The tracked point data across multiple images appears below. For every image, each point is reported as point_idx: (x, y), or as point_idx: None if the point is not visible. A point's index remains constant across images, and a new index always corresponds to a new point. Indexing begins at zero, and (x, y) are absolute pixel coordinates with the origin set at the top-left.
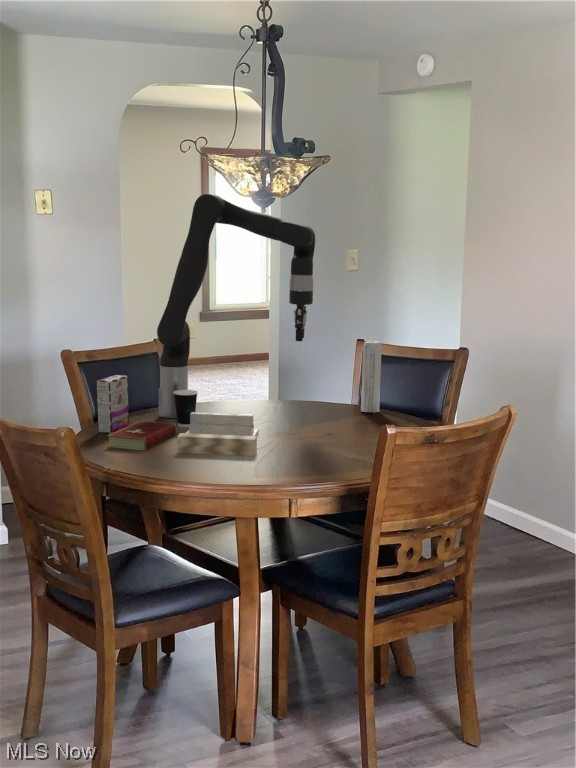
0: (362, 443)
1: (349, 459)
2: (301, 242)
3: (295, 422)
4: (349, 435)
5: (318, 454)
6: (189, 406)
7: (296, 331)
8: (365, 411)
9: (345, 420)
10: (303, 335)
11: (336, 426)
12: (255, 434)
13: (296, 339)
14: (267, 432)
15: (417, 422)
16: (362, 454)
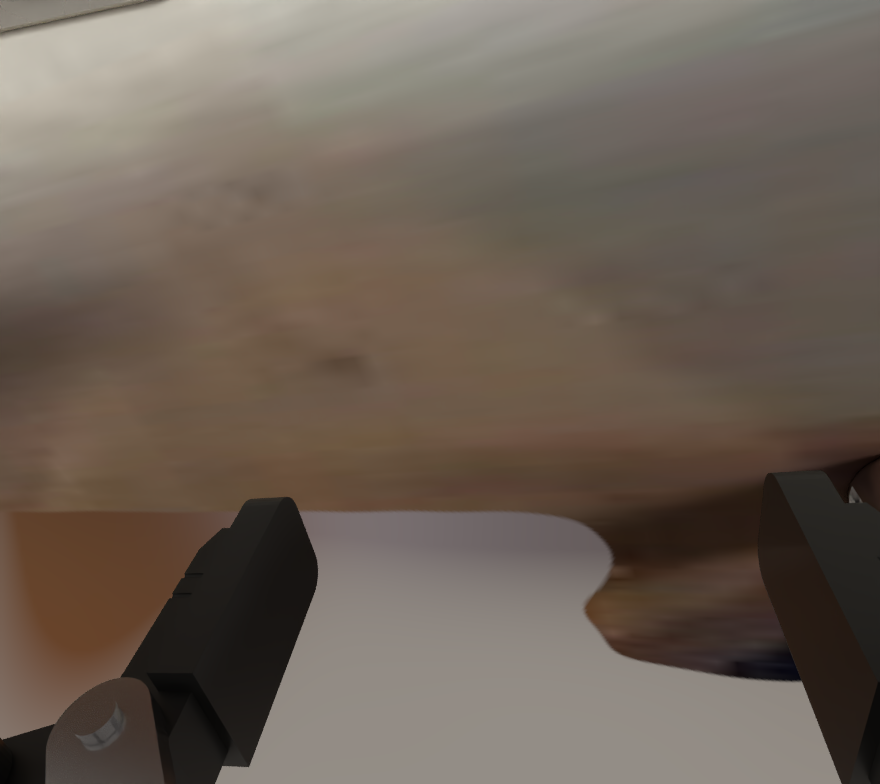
0: (247, 488)
1: (20, 465)
2: None
3: (552, 147)
4: (352, 440)
5: (8, 368)
6: None
7: (174, 643)
8: (862, 478)
9: (663, 398)
10: (771, 595)
11: (510, 374)
12: (49, 18)
13: (245, 520)
14: (236, 43)
15: (671, 641)
16: (103, 496)
